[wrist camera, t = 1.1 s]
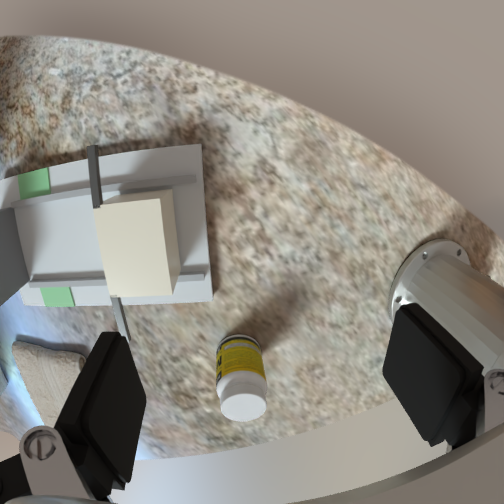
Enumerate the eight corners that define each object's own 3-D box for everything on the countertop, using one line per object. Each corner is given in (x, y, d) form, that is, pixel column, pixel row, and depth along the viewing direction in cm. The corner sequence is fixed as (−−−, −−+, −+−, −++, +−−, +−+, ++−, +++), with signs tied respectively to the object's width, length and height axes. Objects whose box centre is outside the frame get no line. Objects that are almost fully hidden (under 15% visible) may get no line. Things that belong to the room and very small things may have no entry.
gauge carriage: (168, 138, 22) (155, 135, 17) (187, 310, 27) (181, 341, 23) (111, 146, 22) (86, 146, 17) (136, 312, 27) (122, 342, 22)
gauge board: (201, 144, 24) (192, 141, 17) (213, 295, 29) (211, 338, 22) (3, 179, 22) (-41, 191, 16) (29, 300, 27) (-3, 332, 20)
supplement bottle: (212, 336, 30) (210, 393, 22) (257, 329, 30) (268, 385, 22) (220, 369, 32) (222, 427, 24) (262, 363, 32) (273, 420, 24)
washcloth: (52, 422, 35) (47, 434, 32) (14, 334, 29) (3, 347, 26) (116, 436, 36) (112, 451, 33) (85, 348, 30) (76, 364, 27)
